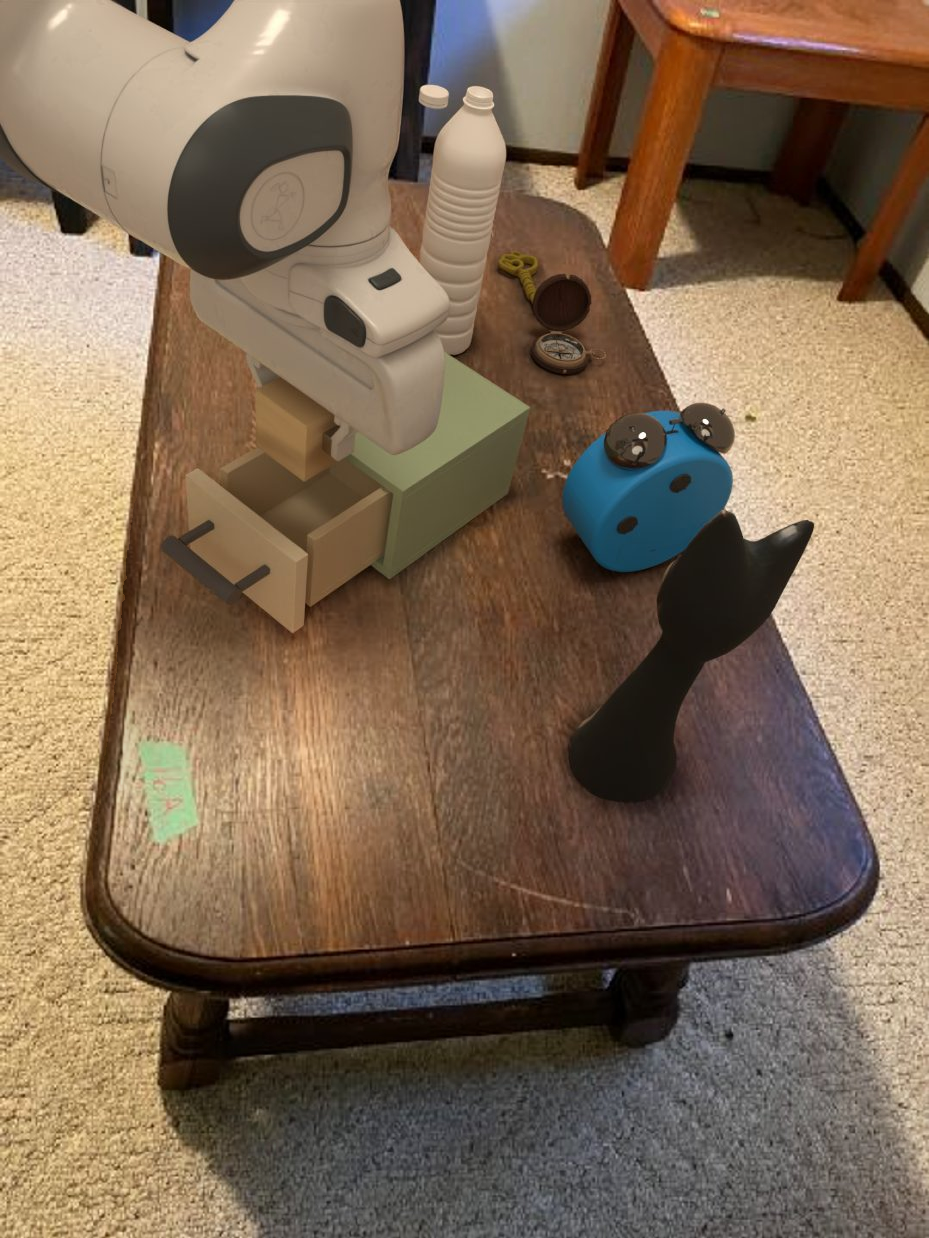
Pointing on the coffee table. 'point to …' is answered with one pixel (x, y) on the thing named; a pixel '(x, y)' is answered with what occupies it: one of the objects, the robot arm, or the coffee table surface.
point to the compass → (561, 323)
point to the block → (292, 428)
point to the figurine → (683, 652)
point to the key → (520, 270)
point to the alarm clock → (650, 485)
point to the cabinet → (446, 466)
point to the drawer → (280, 532)
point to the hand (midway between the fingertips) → (305, 430)
